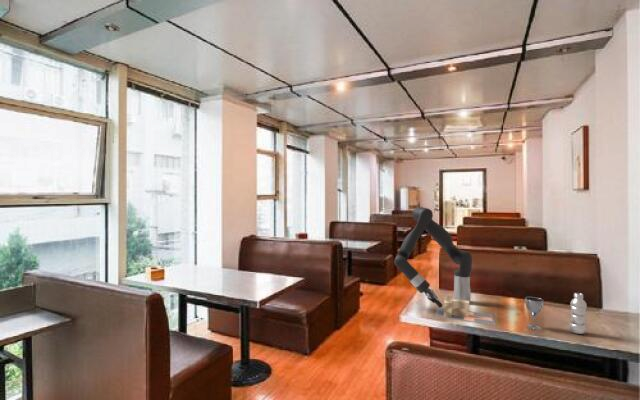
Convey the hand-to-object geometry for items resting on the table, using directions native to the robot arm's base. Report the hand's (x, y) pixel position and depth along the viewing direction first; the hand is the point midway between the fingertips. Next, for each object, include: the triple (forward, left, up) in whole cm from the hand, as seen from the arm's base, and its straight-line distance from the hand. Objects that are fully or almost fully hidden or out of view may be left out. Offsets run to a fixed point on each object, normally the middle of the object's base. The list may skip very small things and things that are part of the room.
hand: (441, 306), depth 192 cm
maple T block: (-5, +6, -3) cm, 9 cm away
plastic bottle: (-42, +49, -5) cm, 65 cm away
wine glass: (-29, +35, -5) cm, 46 cm away
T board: (-8, +9, -4) cm, 13 cm away
